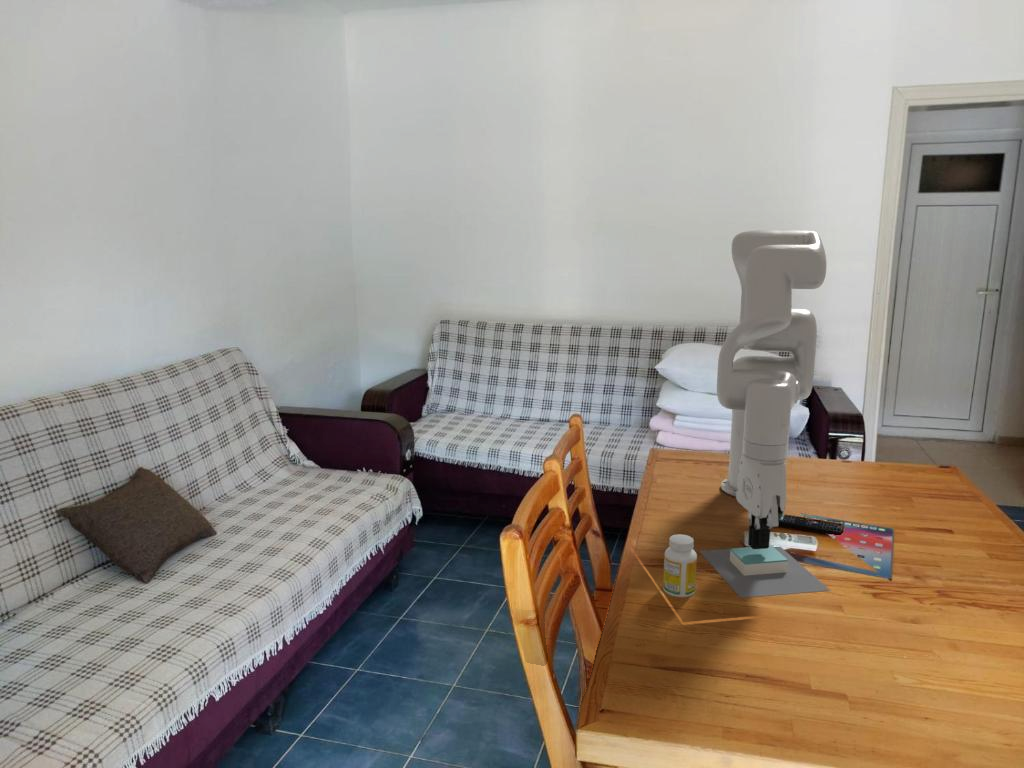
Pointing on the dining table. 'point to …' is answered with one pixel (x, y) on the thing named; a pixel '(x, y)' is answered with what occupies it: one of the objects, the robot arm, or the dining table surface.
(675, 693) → the dining table surface
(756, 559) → the tile
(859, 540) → the tablet
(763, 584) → the mat
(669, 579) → the supplement bottle
